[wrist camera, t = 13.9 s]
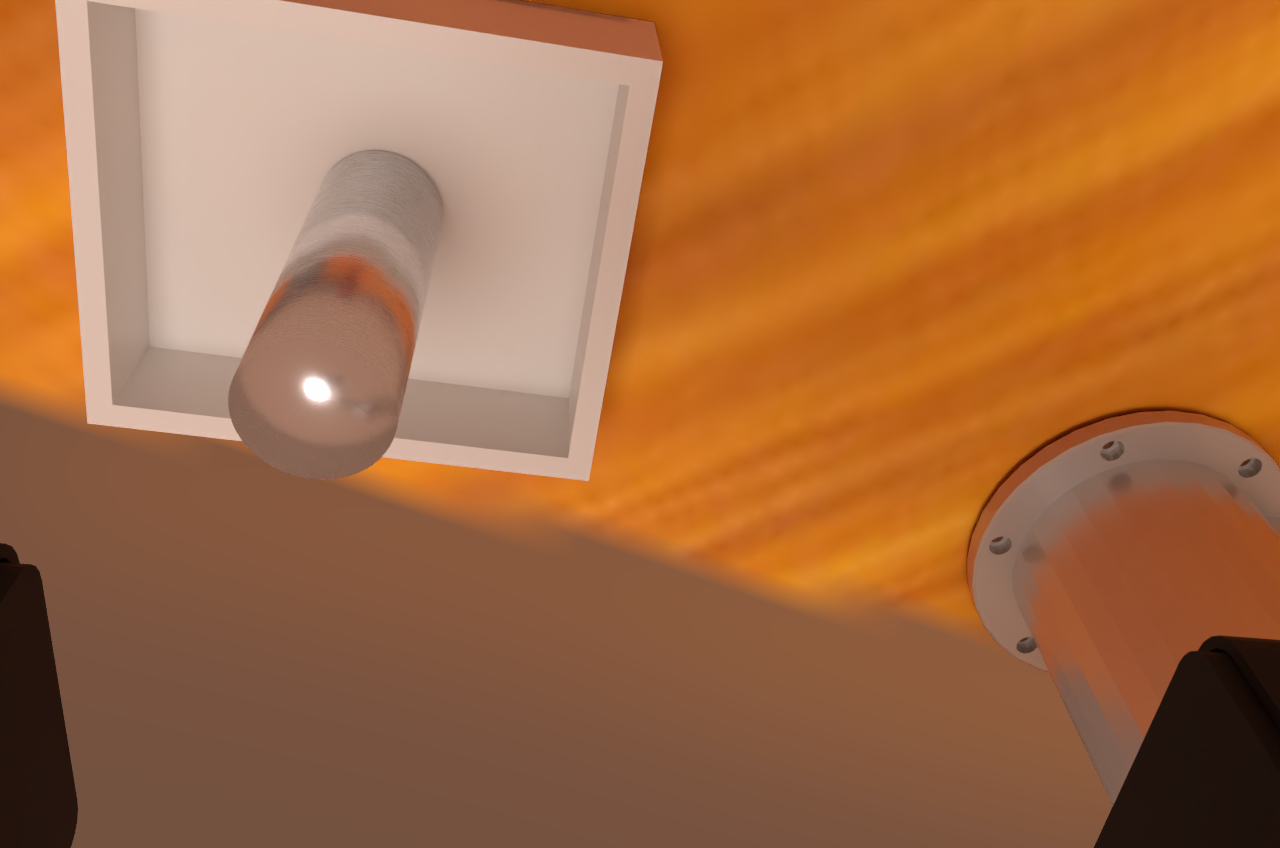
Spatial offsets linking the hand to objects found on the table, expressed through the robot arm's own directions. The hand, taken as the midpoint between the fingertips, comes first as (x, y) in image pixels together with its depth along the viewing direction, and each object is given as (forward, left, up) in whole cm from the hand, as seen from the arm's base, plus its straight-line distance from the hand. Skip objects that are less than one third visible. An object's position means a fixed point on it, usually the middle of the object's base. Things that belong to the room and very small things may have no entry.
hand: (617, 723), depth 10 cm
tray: (+6, +8, -31) cm, 32 cm away
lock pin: (+6, +8, -30) cm, 32 cm away
